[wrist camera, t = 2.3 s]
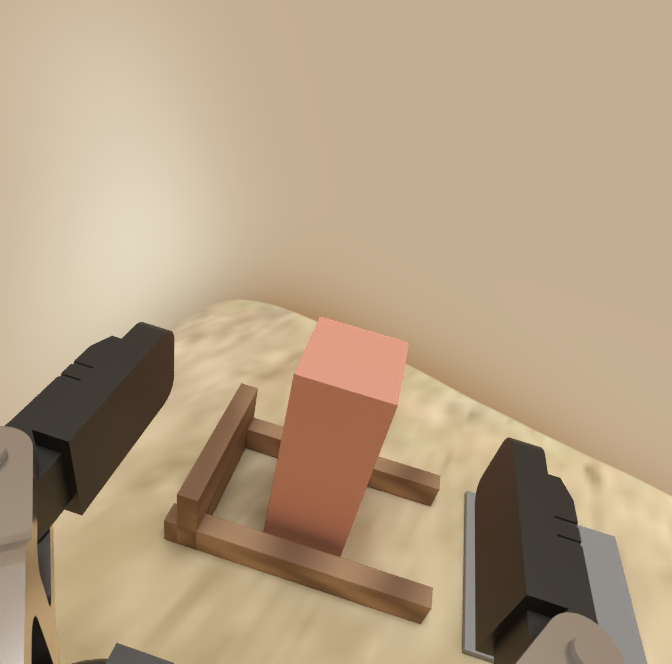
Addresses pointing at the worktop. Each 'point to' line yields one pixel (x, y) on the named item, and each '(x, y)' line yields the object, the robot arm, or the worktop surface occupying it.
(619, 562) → the mat
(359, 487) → the red block
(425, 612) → the frame
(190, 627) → the worktop surface
